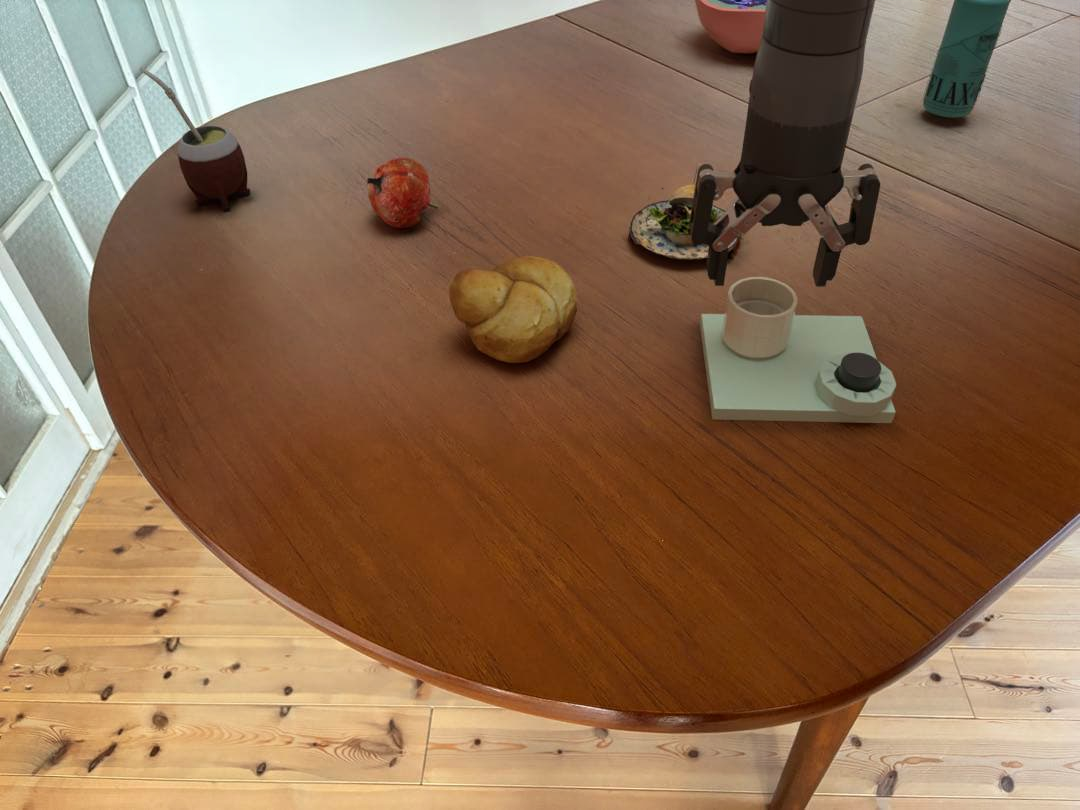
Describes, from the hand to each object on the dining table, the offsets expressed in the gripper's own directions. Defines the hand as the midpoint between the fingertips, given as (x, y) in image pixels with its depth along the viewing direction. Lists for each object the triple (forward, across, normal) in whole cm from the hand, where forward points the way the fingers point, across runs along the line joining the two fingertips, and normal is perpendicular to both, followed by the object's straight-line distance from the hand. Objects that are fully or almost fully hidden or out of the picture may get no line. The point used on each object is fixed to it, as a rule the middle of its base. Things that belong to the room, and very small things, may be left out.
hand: (768, 281), depth 74 cm
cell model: (+9, +9, +71) cm, 72 cm away
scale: (+8, +3, -3) cm, 9 cm away
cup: (+7, 0, 0) cm, 7 cm away
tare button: (+5, +7, -7) cm, 11 cm away
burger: (+8, -5, +18) cm, 21 cm away
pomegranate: (+8, -36, +22) cm, 43 cm away
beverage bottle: (+9, +31, +48) cm, 58 cm away
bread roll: (+8, -21, +2) cm, 23 cm away
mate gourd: (+8, -59, +26) cm, 65 cm away
